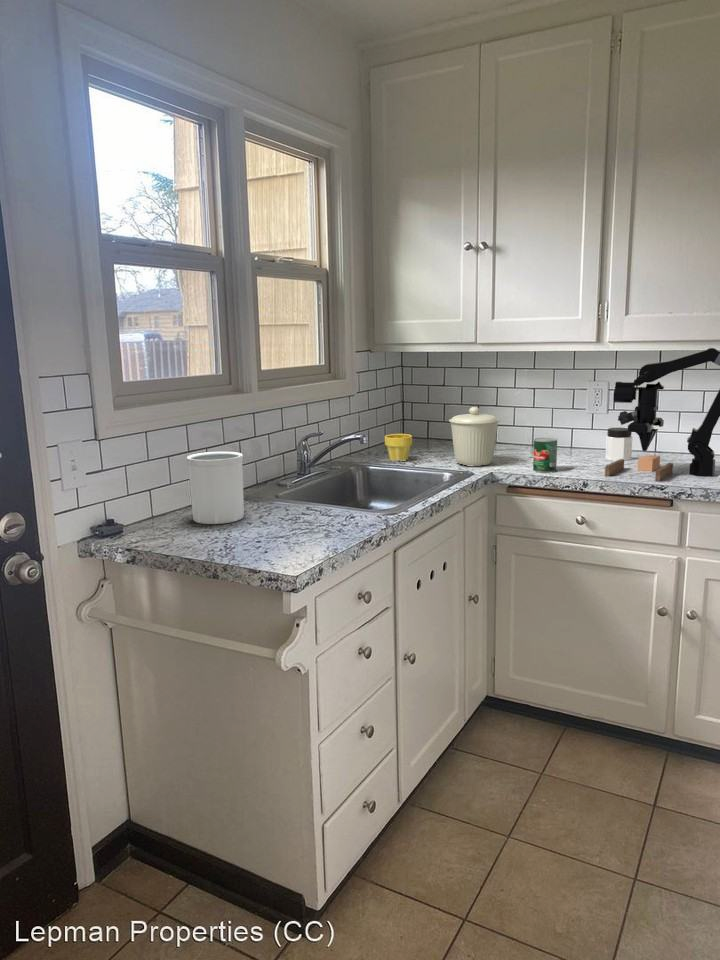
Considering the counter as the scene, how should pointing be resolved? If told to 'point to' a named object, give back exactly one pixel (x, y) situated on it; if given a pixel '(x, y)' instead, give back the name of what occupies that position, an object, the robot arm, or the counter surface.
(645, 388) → the robot arm
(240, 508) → the utensil holder
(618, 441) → the jar
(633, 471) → the counter surface
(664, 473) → the brown wooden tray
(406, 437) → the plant pot
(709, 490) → the counter surface
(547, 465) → the canned tomato
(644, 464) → the peach rectangular block
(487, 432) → the canister
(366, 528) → the counter surface
